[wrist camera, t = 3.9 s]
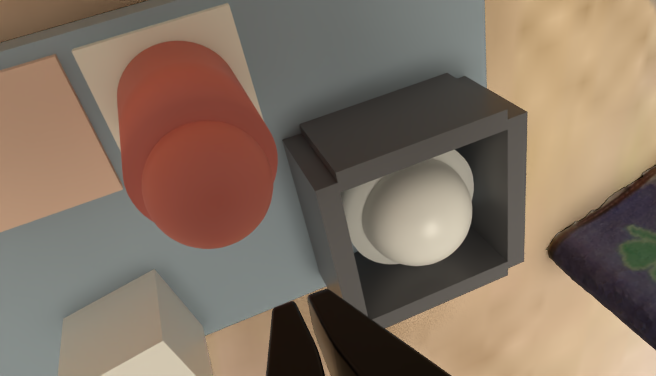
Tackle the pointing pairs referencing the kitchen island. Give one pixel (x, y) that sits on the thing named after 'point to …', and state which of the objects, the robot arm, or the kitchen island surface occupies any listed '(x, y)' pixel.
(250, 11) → the board
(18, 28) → the kitchen island surface
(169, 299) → the beige cube
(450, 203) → the dome
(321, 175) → the button housing
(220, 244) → the pawn
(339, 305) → the robot arm
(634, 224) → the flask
